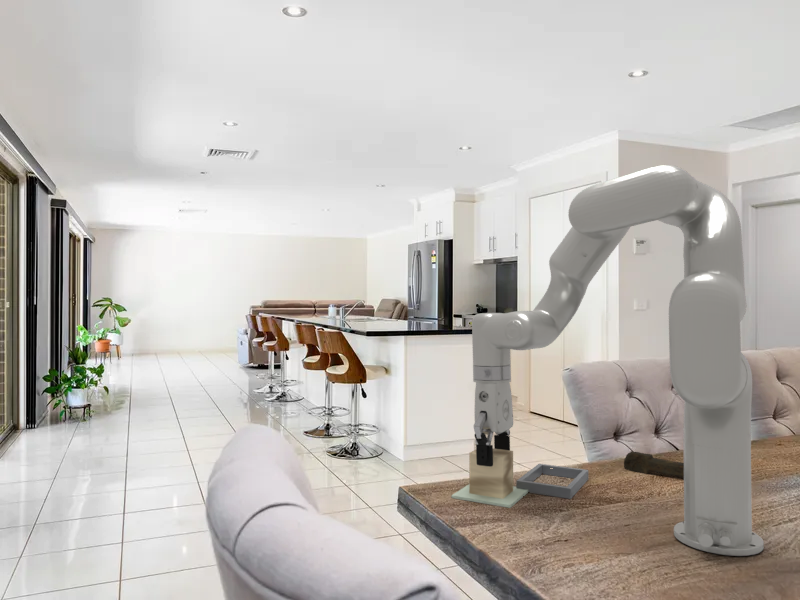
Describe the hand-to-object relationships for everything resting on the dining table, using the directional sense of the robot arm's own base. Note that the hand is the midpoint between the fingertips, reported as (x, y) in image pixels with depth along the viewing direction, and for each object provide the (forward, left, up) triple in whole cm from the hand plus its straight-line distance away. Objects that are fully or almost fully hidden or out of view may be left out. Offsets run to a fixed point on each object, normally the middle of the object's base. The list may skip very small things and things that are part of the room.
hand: (493, 460), depth 118 cm
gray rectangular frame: (+13, -8, -7) cm, 17 cm away
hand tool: (+32, -29, -7) cm, 44 cm away
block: (0, +1, -6) cm, 6 cm away
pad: (0, +1, -7) cm, 7 cm away
